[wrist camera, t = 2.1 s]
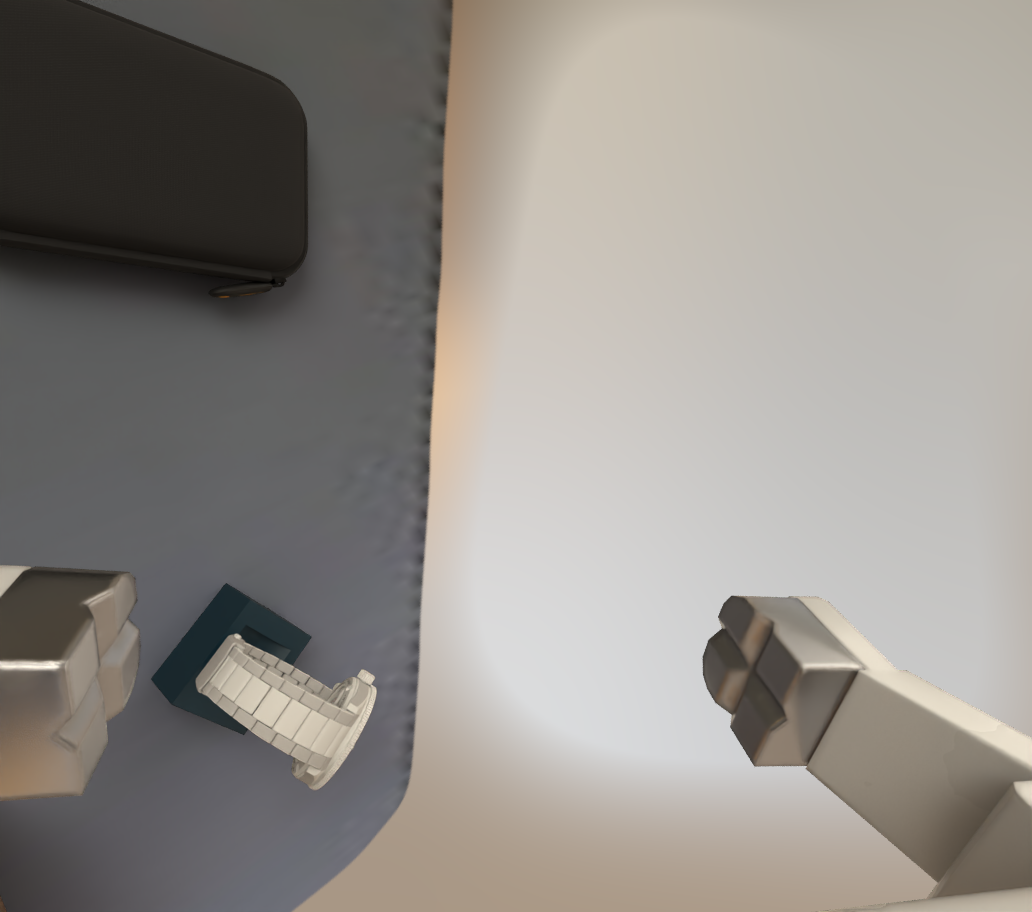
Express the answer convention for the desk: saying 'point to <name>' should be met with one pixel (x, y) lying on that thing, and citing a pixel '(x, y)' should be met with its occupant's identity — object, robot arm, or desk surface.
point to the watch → (265, 685)
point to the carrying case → (146, 149)
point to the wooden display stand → (2, 906)
